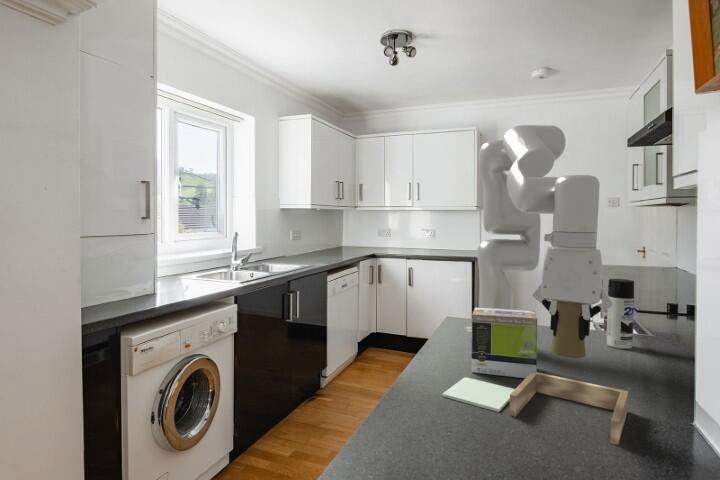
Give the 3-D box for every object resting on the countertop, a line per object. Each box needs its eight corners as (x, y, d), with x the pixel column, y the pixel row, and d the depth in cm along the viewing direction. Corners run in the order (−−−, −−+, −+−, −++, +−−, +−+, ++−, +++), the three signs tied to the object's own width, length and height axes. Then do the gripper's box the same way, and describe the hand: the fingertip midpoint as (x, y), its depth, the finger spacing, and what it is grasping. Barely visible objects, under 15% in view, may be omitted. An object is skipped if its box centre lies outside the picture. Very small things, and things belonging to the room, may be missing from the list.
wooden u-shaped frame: (509, 415, 82) (509, 394, 82) (531, 388, 95) (532, 371, 95) (618, 445, 71) (619, 421, 71) (627, 411, 84) (628, 391, 84)
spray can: (622, 350, 124) (625, 282, 123) (600, 344, 130) (603, 278, 129) (637, 348, 126) (640, 280, 125) (615, 342, 132) (618, 277, 131)
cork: (590, 359, 79) (593, 300, 78) (555, 356, 80) (557, 298, 79) (580, 348, 85) (583, 293, 84) (547, 346, 86) (550, 292, 85)
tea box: (534, 367, 109) (536, 310, 108) (536, 381, 99) (538, 318, 99) (473, 360, 114) (474, 305, 113) (470, 373, 104) (471, 313, 104)
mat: (442, 396, 90) (442, 393, 90) (464, 379, 100) (464, 377, 100) (498, 412, 83) (499, 409, 83) (517, 392, 93) (517, 389, 93)
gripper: (522, 240, 83) (519, 333, 84) (623, 245, 73) (617, 350, 74) (533, 238, 89) (529, 325, 90) (627, 242, 79) (622, 340, 80)
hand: (569, 335), depth 82 cm, fingers closed on cork, 3 cm apart
